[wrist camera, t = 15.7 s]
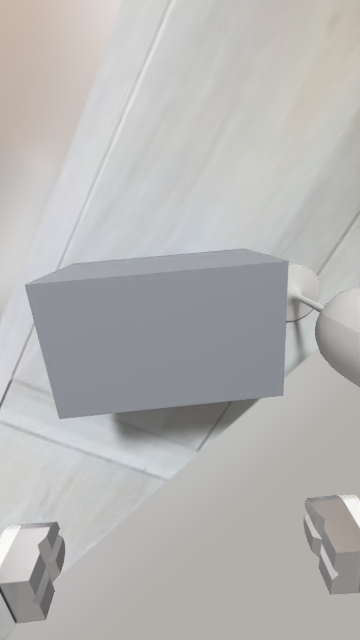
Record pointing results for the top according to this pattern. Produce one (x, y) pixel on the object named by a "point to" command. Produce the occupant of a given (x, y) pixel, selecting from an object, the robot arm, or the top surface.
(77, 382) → the grey cover
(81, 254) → the top surface
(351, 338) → the wineglass
